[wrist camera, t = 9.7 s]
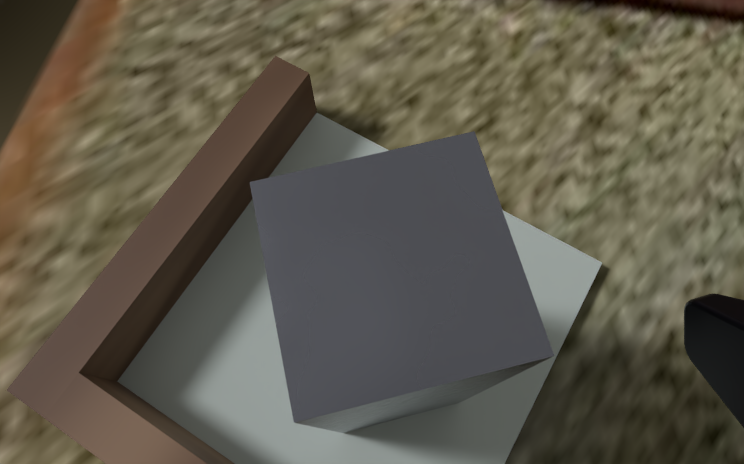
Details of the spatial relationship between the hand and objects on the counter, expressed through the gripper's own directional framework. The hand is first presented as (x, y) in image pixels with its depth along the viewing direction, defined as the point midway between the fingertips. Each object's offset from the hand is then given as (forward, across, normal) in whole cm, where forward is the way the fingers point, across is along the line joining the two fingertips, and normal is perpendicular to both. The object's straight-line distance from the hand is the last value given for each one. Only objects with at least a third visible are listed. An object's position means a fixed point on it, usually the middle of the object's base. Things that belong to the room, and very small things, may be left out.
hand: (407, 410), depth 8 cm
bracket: (+11, 0, +4) cm, 12 cm away
